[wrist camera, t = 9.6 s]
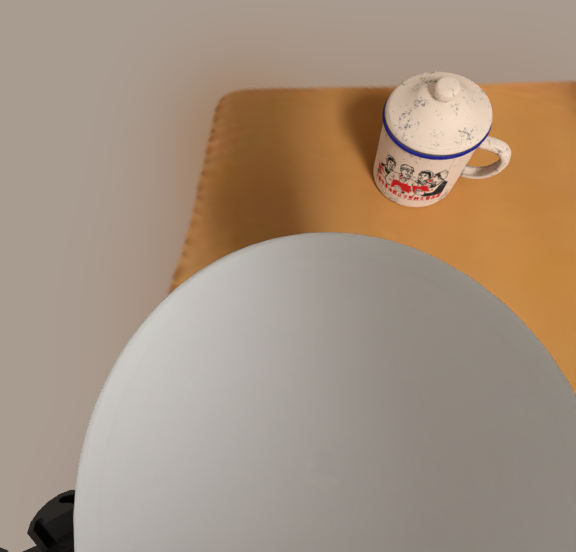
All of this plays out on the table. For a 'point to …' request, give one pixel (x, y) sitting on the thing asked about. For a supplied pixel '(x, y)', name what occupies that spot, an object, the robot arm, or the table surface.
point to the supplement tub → (330, 413)
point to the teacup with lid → (434, 138)
